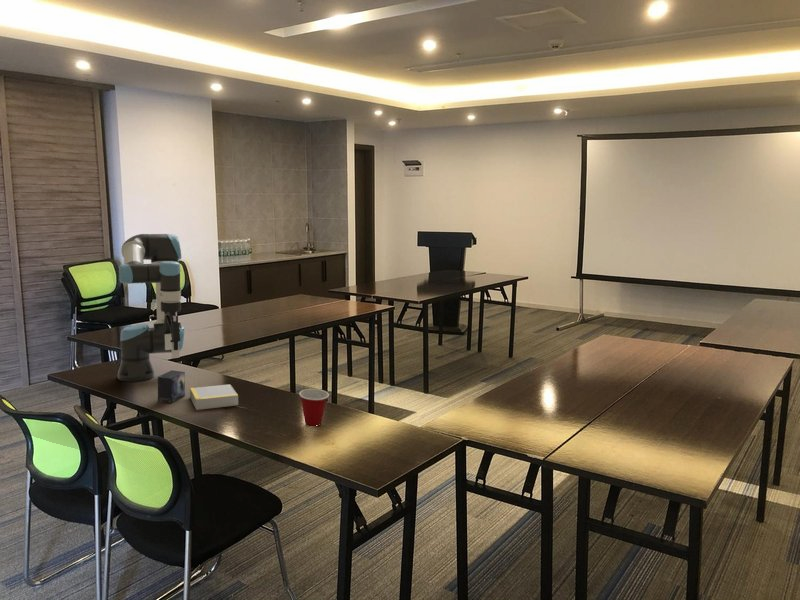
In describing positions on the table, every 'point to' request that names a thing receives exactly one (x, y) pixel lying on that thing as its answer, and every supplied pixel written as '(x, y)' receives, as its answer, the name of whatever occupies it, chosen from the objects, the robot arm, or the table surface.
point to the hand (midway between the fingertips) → (172, 353)
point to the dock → (213, 396)
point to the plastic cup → (313, 405)
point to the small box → (171, 386)
